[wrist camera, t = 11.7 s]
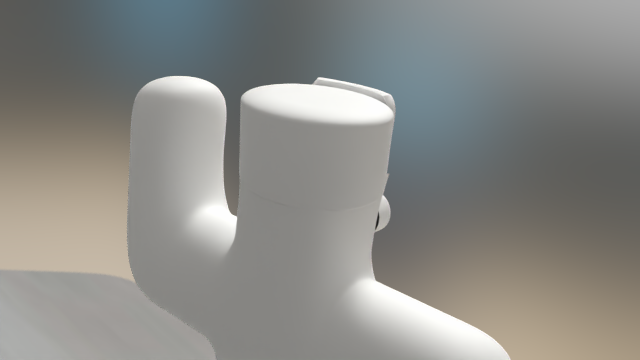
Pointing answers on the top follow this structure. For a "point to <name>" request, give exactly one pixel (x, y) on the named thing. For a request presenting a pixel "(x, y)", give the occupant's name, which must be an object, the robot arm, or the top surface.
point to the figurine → (277, 225)
